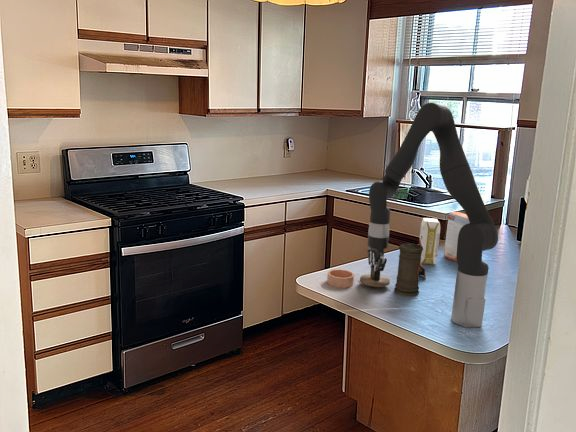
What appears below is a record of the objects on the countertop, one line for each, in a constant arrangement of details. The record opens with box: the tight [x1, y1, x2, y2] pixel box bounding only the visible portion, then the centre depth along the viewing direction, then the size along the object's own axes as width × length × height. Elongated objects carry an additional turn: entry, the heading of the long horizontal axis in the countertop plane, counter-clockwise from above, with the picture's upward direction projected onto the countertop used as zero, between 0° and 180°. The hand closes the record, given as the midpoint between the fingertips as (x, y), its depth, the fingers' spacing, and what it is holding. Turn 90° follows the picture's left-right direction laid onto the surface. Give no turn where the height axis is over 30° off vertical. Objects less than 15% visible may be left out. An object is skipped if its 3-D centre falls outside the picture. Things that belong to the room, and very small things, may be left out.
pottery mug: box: [419, 263, 427, 281], centre depth 214 cm, size 12×10×8 cm
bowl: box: [326, 268, 355, 289], centre depth 202 cm, size 10×10×4 cm
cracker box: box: [443, 211, 470, 263], centre depth 237 cm, size 14×6×21 cm, turn 22°
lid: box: [359, 268, 391, 287], centre depth 200 cm, size 11×11×5 cm
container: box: [393, 242, 423, 297], centre depth 195 cm, size 9×9×18 cm
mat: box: [357, 280, 392, 293], centre depth 201 cm, size 11×9×1 cm
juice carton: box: [418, 217, 441, 266], centre depth 232 cm, size 8×9×19 cm
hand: (374, 278), depth 200 cm, fingers closed on lid, 2 cm apart
